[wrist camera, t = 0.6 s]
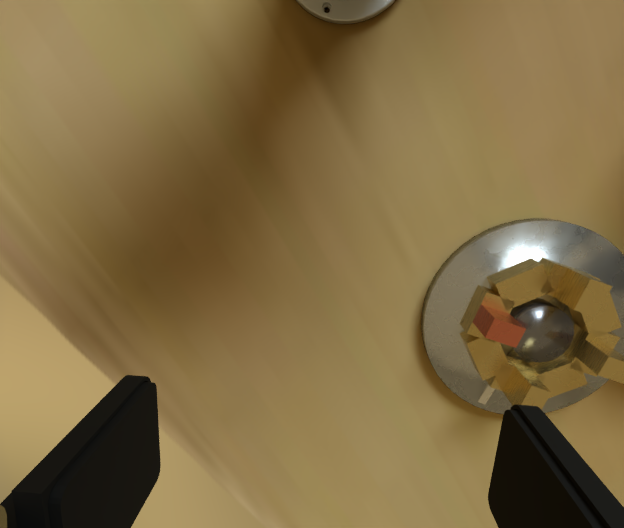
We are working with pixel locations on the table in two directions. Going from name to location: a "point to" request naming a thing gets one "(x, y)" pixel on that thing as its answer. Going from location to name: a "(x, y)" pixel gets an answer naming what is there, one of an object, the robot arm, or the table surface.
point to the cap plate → (494, 261)
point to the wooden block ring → (506, 329)
